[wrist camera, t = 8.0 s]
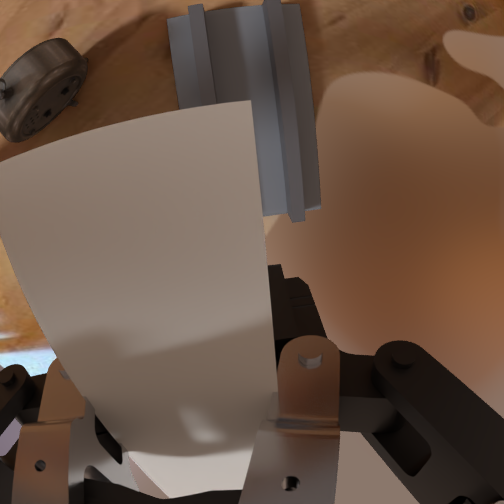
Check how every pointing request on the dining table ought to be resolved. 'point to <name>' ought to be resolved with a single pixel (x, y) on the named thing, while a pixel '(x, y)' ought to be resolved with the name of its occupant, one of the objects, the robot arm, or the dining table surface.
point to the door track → (256, 90)
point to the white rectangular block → (154, 284)
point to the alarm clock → (39, 88)
